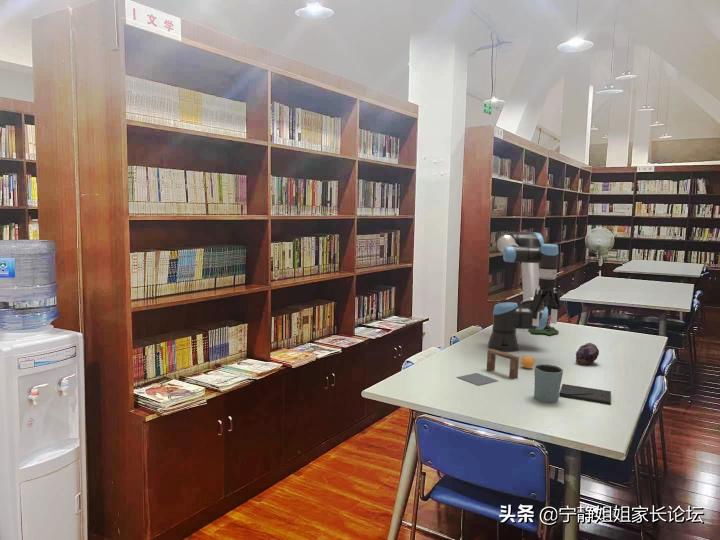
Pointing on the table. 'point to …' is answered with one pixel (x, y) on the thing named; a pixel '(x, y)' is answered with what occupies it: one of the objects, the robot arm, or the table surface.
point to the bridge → (513, 359)
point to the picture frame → (585, 394)
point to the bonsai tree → (547, 329)
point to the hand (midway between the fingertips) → (544, 324)
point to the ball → (527, 362)
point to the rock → (587, 354)
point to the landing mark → (477, 379)
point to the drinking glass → (547, 383)
